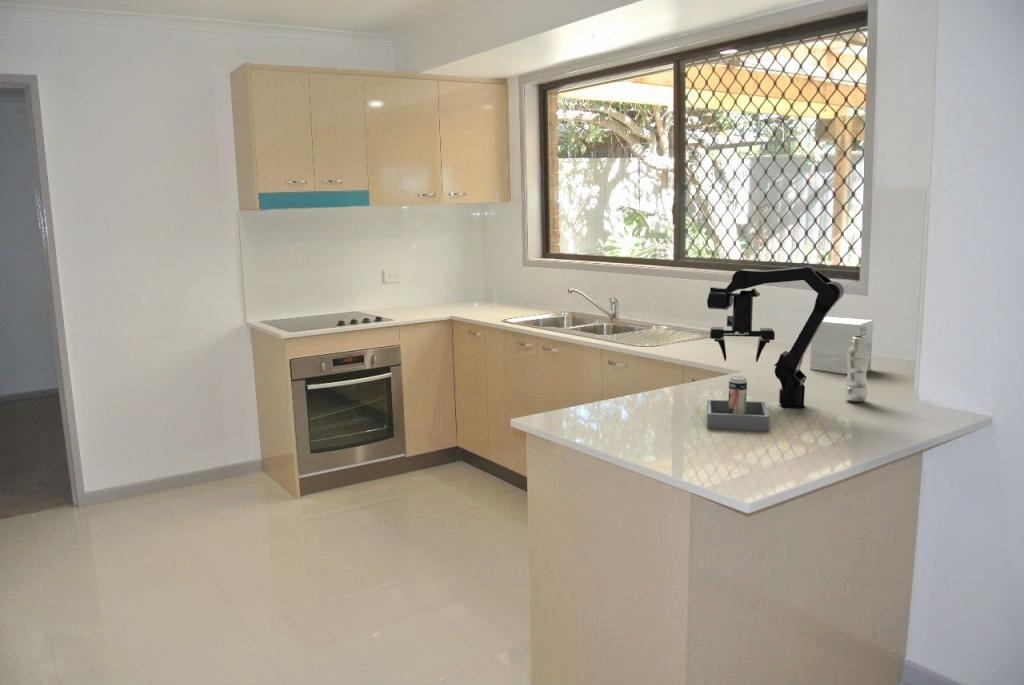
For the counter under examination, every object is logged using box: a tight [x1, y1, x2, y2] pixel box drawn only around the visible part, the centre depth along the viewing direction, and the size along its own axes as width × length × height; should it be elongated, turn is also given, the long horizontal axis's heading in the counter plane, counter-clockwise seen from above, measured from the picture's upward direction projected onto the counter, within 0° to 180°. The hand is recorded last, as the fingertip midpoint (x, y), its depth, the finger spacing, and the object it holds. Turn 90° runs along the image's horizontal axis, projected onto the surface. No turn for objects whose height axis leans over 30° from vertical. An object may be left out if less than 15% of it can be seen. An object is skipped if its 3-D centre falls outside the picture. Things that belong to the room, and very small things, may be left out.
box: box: [706, 399, 770, 432], centre depth 225 cm, size 16×16×4 cm
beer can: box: [727, 375, 748, 415], centre depth 224 cm, size 5×5×12 cm
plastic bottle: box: [843, 336, 870, 403], centre depth 243 cm, size 6×7×20 cm
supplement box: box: [809, 316, 874, 375], centre depth 288 cm, size 17×13×18 cm
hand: (740, 361), depth 248 cm, fingers open, 9 cm apart
